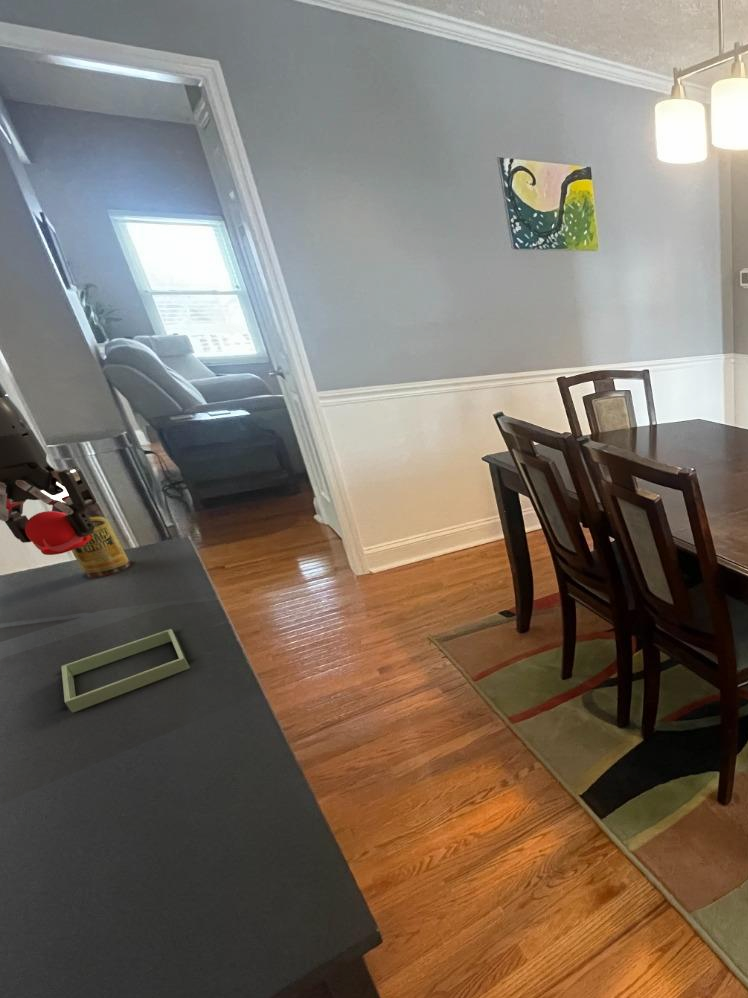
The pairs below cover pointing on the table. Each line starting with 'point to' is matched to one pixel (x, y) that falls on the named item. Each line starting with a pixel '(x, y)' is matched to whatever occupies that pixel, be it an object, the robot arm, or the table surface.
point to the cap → (53, 533)
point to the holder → (127, 683)
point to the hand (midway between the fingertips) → (59, 537)
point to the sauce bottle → (99, 546)
